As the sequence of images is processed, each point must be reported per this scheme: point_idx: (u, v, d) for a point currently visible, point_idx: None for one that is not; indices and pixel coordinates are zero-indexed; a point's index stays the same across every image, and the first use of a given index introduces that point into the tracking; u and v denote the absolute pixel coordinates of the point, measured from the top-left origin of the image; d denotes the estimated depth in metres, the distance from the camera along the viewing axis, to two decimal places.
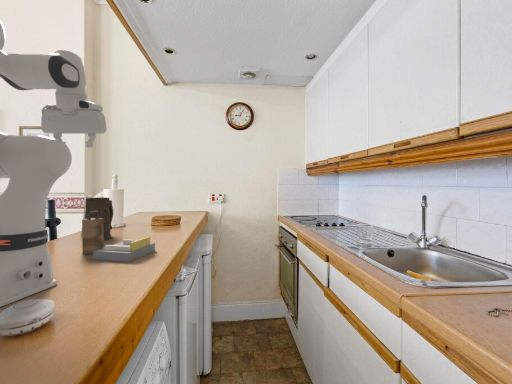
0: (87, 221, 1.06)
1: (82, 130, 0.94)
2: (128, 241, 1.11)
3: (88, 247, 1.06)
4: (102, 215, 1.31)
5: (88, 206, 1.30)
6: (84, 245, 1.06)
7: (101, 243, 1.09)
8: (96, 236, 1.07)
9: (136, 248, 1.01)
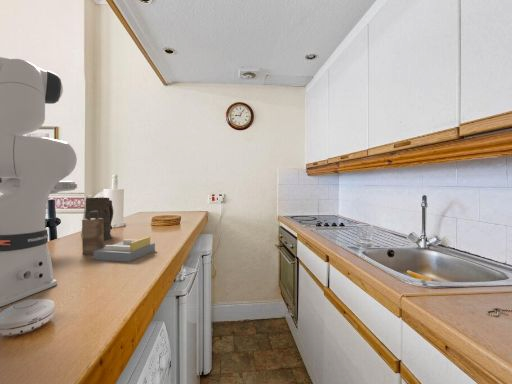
0: (87, 221, 1.06)
1: (62, 181, 1.15)
2: (128, 241, 1.11)
3: (88, 247, 1.06)
4: (102, 215, 1.31)
5: (88, 206, 1.30)
6: (84, 245, 1.06)
7: (101, 243, 1.09)
8: (96, 236, 1.07)
9: (136, 248, 1.01)
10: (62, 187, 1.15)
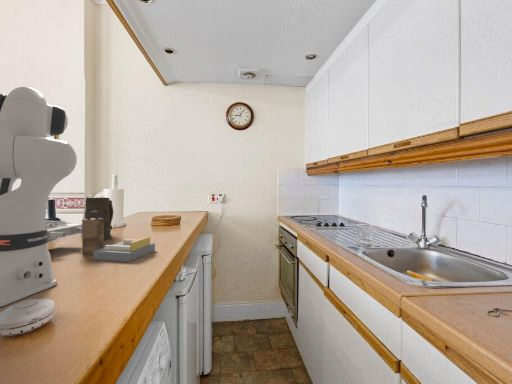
0: (87, 221, 1.06)
1: (70, 226, 1.15)
2: (128, 241, 1.11)
3: (88, 247, 1.06)
4: (102, 215, 1.31)
5: (88, 206, 1.30)
6: (84, 245, 1.06)
7: (101, 243, 1.09)
8: (96, 236, 1.07)
9: (136, 248, 1.01)
10: (70, 232, 1.15)
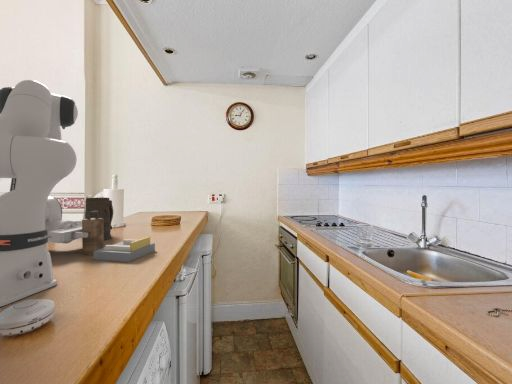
0: (87, 221, 1.06)
1: None
2: (128, 241, 1.11)
3: (88, 247, 1.06)
4: (102, 215, 1.31)
5: (88, 206, 1.30)
6: (84, 245, 1.06)
7: (101, 243, 1.09)
8: (96, 236, 1.07)
9: (136, 248, 1.01)
10: None
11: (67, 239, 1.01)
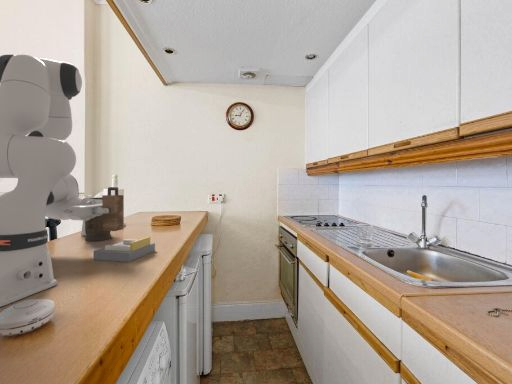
0: (108, 197, 1.04)
1: None
2: (128, 241, 1.11)
3: (108, 223, 1.04)
4: (102, 215, 1.31)
5: None
6: (104, 221, 1.04)
7: (121, 220, 1.07)
8: (117, 212, 1.04)
9: (136, 248, 1.01)
10: None
11: (88, 214, 0.99)
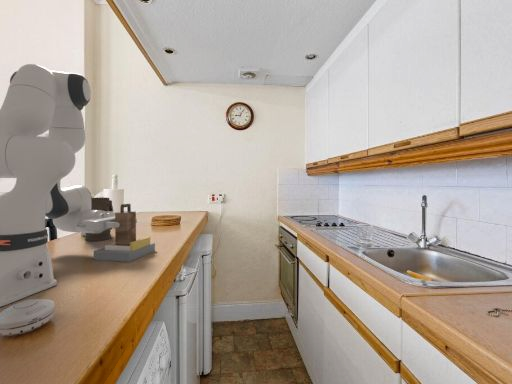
0: (120, 214, 1.03)
1: None
2: None
3: (121, 241, 1.03)
4: None
5: None
6: (117, 239, 1.03)
7: (134, 236, 1.06)
8: (129, 229, 1.04)
9: (136, 248, 1.01)
10: None
11: (101, 228, 0.98)
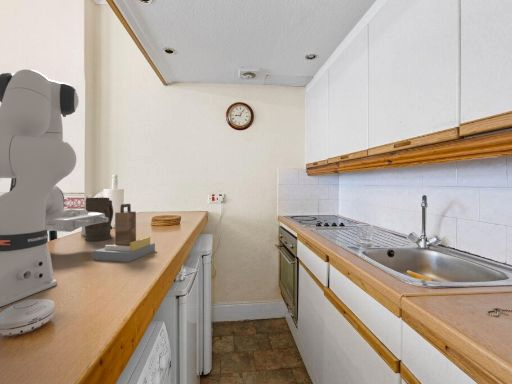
0: (120, 214, 1.03)
1: (93, 215, 1.13)
2: None
3: (121, 241, 1.03)
4: None
5: (88, 206, 1.30)
6: (117, 239, 1.03)
7: (134, 236, 1.06)
8: (129, 229, 1.04)
9: (136, 248, 1.01)
10: (93, 221, 1.13)
11: (70, 227, 1.01)
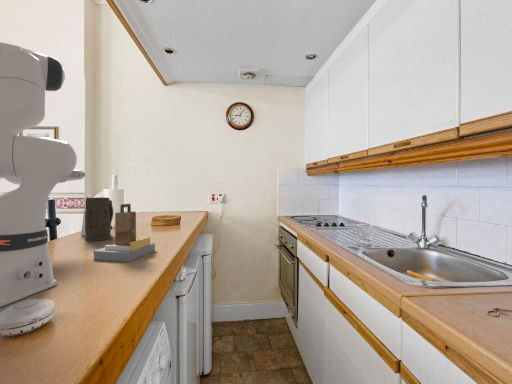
0: (120, 214, 1.03)
1: None
2: None
3: (121, 241, 1.03)
4: (102, 215, 1.31)
5: (88, 206, 1.30)
6: (117, 239, 1.03)
7: (134, 236, 1.06)
8: (129, 229, 1.04)
9: (136, 248, 1.01)
10: (70, 175, 1.14)
11: None
